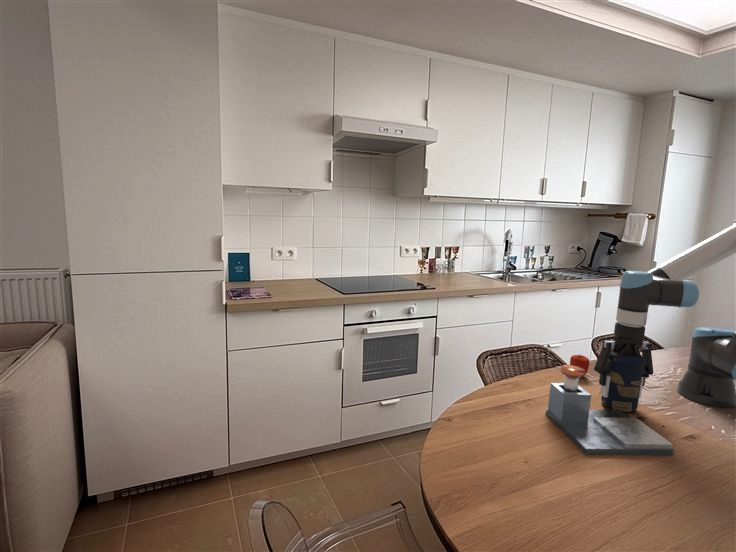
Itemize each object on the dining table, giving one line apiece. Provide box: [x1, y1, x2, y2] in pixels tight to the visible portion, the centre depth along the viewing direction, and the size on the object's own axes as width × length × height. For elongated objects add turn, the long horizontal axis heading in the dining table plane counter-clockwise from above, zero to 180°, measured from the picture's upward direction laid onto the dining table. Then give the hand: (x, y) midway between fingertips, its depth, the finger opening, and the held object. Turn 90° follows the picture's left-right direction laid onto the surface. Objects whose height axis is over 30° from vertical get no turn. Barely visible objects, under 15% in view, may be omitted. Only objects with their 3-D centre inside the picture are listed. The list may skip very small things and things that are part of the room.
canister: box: [600, 349, 644, 413], centre depth 123 cm, size 10×10×18 cm
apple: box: [569, 354, 590, 376], centre depth 148 cm, size 6×6×8 cm
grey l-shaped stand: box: [545, 382, 675, 456], centre depth 109 cm, size 22×20×10 cm
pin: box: [560, 364, 586, 392], centre depth 113 cm, size 6×6×9 cm
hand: (619, 395), depth 124 cm, fingers closed on canister, 9 cm apart
